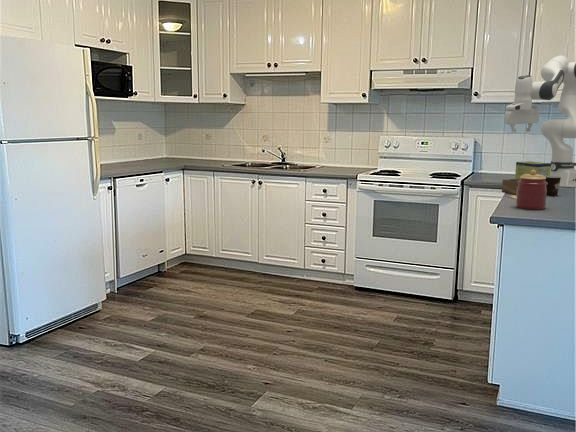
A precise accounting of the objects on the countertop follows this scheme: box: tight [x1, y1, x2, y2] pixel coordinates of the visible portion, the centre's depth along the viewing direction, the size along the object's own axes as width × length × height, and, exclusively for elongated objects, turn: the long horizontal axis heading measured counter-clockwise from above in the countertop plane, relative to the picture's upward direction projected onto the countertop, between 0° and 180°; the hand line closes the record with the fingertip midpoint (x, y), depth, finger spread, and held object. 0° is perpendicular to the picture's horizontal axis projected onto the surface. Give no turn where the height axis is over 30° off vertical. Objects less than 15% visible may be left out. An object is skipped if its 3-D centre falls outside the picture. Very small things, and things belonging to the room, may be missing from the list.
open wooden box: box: [501, 178, 520, 196], centre depth 301 cm, size 12×12×7 cm
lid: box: [504, 191, 517, 200], centre depth 286 cm, size 13×13×5 cm
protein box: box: [514, 160, 551, 179], centre depth 313 cm, size 10×16×16 cm
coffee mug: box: [544, 176, 561, 197], centre depth 293 cm, size 12×9×10 cm
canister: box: [515, 170, 548, 210], centre depth 257 cm, size 13×13×18 cm
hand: (520, 132), depth 302 cm, fingers open, 8 cm apart
